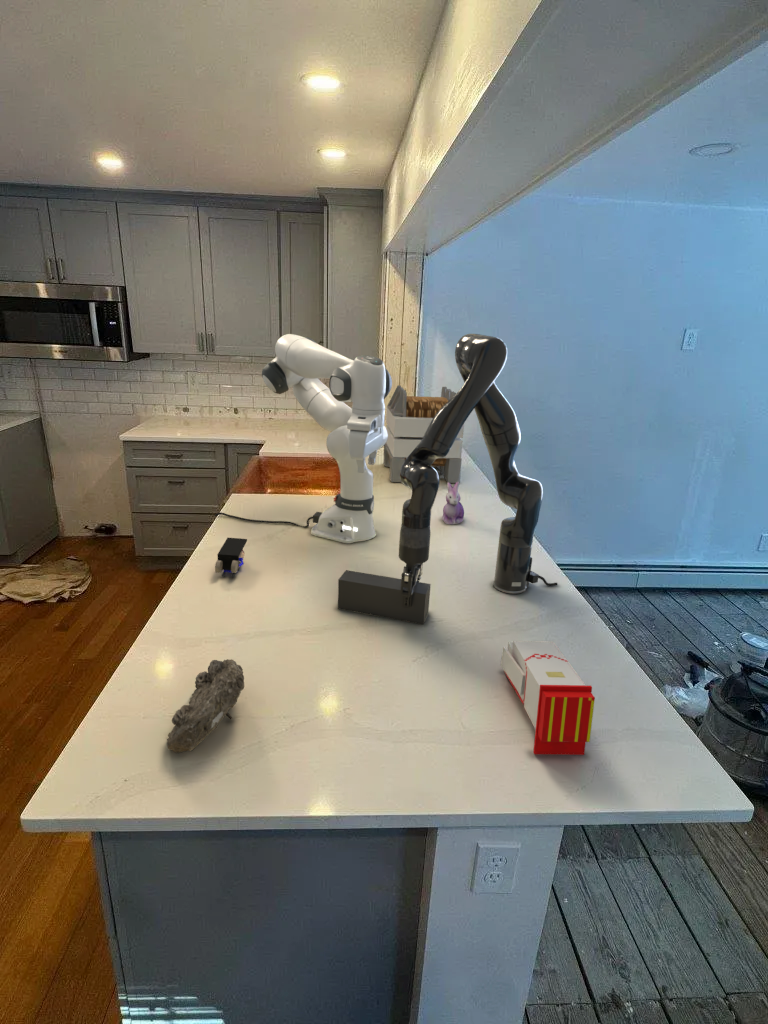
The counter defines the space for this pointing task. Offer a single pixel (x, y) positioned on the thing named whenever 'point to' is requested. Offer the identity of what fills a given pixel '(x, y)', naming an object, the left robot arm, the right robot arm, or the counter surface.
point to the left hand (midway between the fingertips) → (366, 468)
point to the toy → (550, 696)
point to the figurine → (453, 506)
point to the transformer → (417, 432)
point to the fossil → (206, 705)
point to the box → (381, 597)
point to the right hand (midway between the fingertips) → (410, 600)
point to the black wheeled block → (230, 556)
